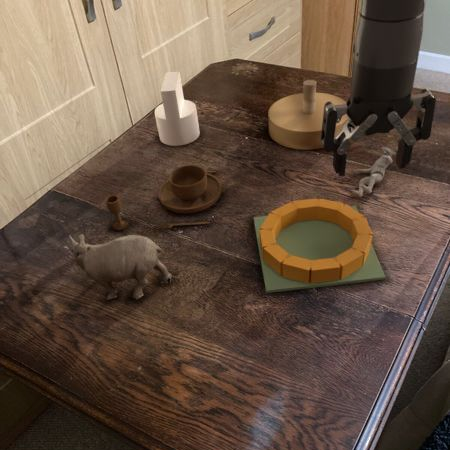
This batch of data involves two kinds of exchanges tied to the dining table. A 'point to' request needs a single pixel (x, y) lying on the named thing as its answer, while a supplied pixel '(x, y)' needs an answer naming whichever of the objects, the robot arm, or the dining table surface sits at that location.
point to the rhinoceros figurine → (119, 261)
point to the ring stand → (302, 118)
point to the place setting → (179, 194)
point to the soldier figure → (374, 172)
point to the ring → (323, 267)
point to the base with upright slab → (176, 114)
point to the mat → (315, 253)
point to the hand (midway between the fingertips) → (370, 169)
